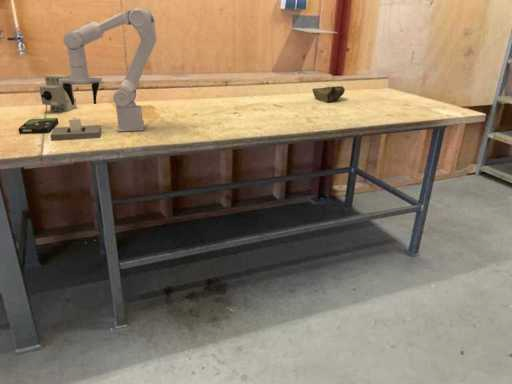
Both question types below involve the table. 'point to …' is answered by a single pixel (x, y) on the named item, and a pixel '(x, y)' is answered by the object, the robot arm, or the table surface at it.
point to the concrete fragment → (328, 93)
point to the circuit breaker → (56, 94)
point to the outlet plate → (76, 133)
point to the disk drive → (38, 126)
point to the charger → (75, 124)
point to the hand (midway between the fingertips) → (84, 103)
